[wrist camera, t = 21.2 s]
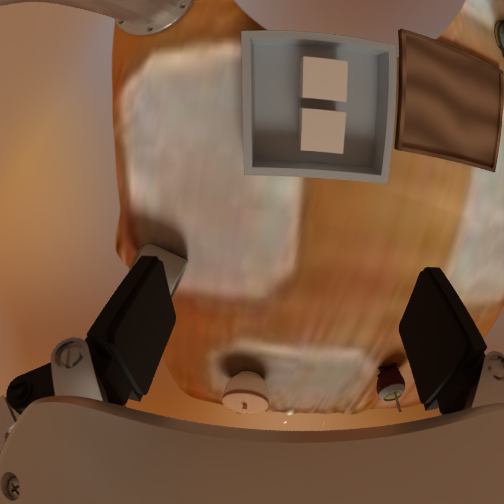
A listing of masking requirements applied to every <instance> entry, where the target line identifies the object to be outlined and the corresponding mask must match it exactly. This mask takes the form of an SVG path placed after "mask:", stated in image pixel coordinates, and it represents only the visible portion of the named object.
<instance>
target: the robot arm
mask: <svg viewBox="0 0 504 504" xmlns="http://www.w3.org/2000/svg"><path fill="white" fill-rule="evenodd" d="M193 1H194V0H0V6H3V5H8V4H14V3H21V2H47V3H54V4H61V5H66V6H71V7H75V8H80V9H84V10H88V11H92V12H96V13H99V14H103V15H106V16H110V17H113V18H115V22H116V23H117V25H118V27H119V28H121V29H122V30H123V31H125V32H127V33H129V34H132V35H138V36H148V35H153V34H156V33H159V32H162V31H164V30H166V29H168V28H170V27H171V26H173V25H174V24H176V23H177V22H178V21H179V20H180V19H181V18H183V17H184V15H185V14H186V13H187V12H188V11H189V9H190V7H191V5H192V4H193ZM184 6H185V7H184ZM183 7H184V8H183ZM151 30H152V31H151ZM175 321H176V315H175V311H174V307H173V303H172V299H171V295H170V290H169V286H168V282H167V278H166V273H165V269H164V264H163V262H162V261H161V260H159V258H158V257H157V256H146V255H143V256H141V257H140V258H139V259H138V261H137V262H136V263H135V265H134V266H133V267H132V269H131V270H130V271H129V273H128V274H127V276H126V277H125V278H124V280H123V281H122V283H121V284H120V285H119V287H118V288H117V290H116V291H115V292H114V294H113V295H112V297H111V298H110V300H109V301H108V303H107V304H106V305H105V307H104V308H103V310H102V312H101V313H100V315H99V316H98V317H97V319H96V321H95V322H94V324H93V325H92V327H91V328H90V330H89V331H88V333H87V338H86V339H85V341H84V340H83V339H80V338H75V337H72V338H68V339H66V340H63V341H61V343H59V344H58V345H57V346H56V347H55V349H54V350H53V352H52V355H51V363H48V364H46V365H44V366H41V367H39V368H37V369H34V370H32V371H30V372H27V373H25V374H23V375H20V376H18V377H16V378H15V379H14V380H13V381H12V382H11V383H10V385H9V386H8V389H7V396H6V397H5V396H4V395H3V396H1V397H0V504H504V355H503V354H502V353H500V352H496V351H495V352H494V351H492V352H490V353H488V354H487V355H486V356H485V354H484V351H485V350H486V348H487V346H486V344H485V342H484V340H483V338H482V336H481V334H480V332H479V330H478V328H477V327H476V325H475V323H474V321H473V319H472V318H471V316H470V314H469V313H468V311H467V309H466V307H465V306H464V304H463V302H462V301H461V299H460V298H459V296H458V294H457V293H456V291H455V290H454V288H453V287H452V285H451V283H450V282H449V280H448V279H447V277H446V276H445V274H444V273H443V272H442V270H441V269H440V268H437V267H426V268H425V269H424V270H423V271H421V272H420V274H419V276H418V279H417V282H416V284H415V287H414V290H413V292H412V295H411V297H410V300H409V302H408V305H407V307H406V310H405V312H404V315H403V317H402V319H401V321H400V324H399V333H400V336H401V339H402V342H403V345H404V348H405V351H406V354H407V357H408V360H409V364H410V367H411V370H412V374H413V377H414V380H415V384H416V388H417V391H418V395H419V399H420V402H421V403H422V404H424V407H425V410H426V411H427V410H432V409H436V408H438V407H439V410H440V413H439V415H438V416H436V417H432V418H427V419H422V420H417V421H412V422H406V423H400V424H394V425H387V426H380V427H371V428H360V429H349V430H330V431H275V430H257V429H245V428H234V427H226V426H218V425H210V424H204V423H197V422H191V421H186V420H180V419H175V418H171V417H165V416H161V415H156V414H152V413H147V412H143V411H139V410H135V409H131V408H127V407H126V405H125V404H126V403H127V400H128V399H132V400H135V401H139V402H140V401H141V398H142V396H143V395H146V394H147V393H148V390H149V388H150V385H151V383H152V380H153V377H154V375H155V372H156V370H157V367H158V365H159V362H160V359H161V357H162V354H163V352H164V349H165V347H166V345H167V342H168V340H169V337H170V335H171V332H172V330H173V327H174V325H175Z"/></svg>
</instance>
